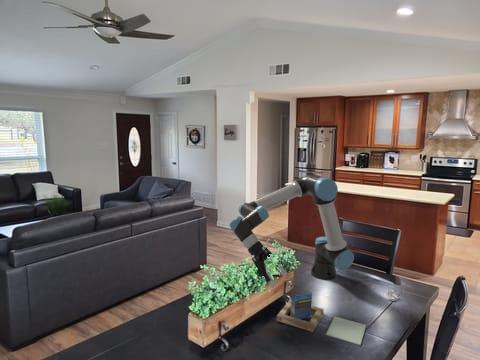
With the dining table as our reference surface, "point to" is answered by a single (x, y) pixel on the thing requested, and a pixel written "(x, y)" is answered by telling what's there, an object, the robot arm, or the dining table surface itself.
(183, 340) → the dining table surface
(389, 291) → the teacup and saucer
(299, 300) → the label tape box
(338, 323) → the sage board
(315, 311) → the oak socket frame
